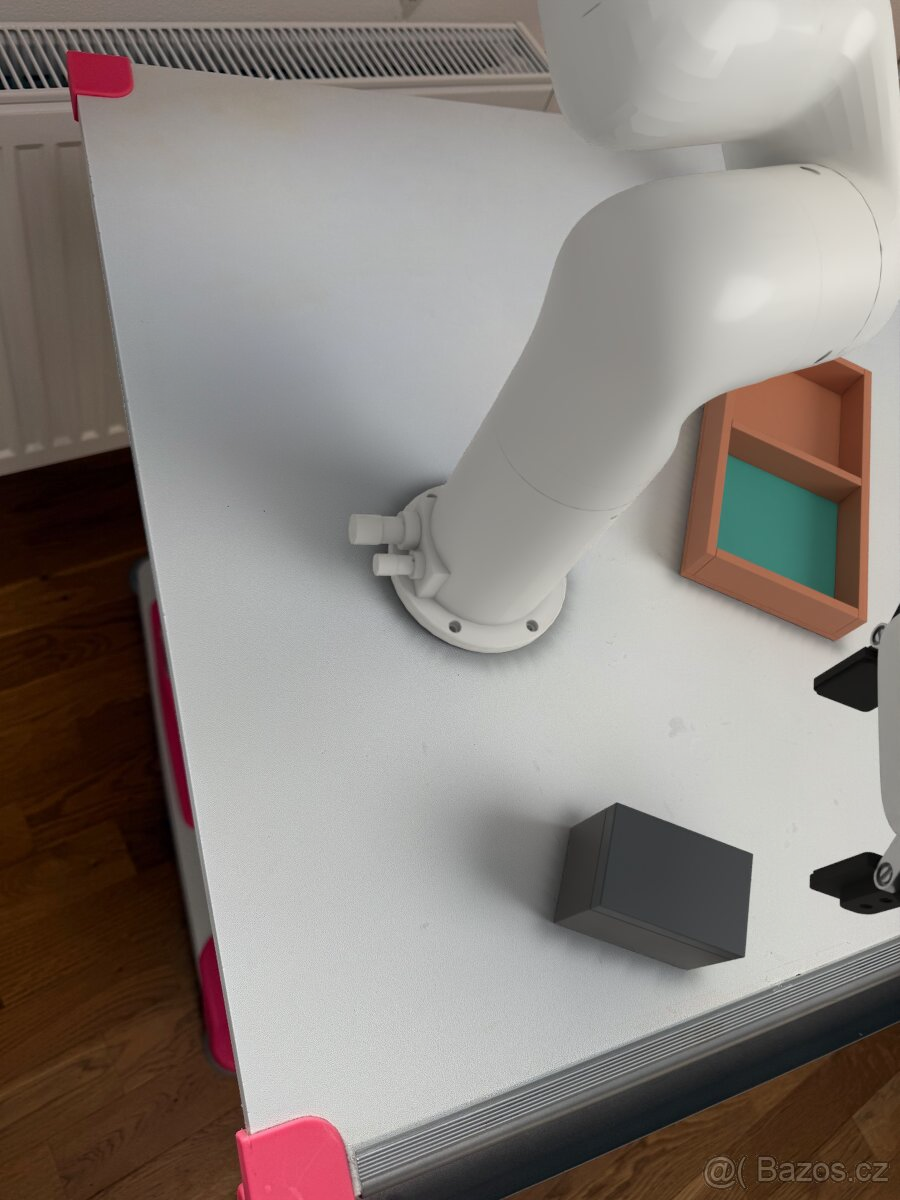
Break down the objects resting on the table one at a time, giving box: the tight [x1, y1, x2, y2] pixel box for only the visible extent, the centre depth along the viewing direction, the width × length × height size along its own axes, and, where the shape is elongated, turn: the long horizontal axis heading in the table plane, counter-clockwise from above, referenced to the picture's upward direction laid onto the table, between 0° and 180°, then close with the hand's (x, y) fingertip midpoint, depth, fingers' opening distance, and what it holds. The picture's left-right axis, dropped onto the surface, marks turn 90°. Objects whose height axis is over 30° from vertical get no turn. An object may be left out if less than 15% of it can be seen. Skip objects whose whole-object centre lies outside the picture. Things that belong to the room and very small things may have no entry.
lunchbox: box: [553, 802, 754, 971], centre depth 57 cm, size 9×6×6 cm, turn 76°
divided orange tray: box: [679, 356, 873, 642], centre depth 78 cm, size 14×26×4 cm, turn 166°
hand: (838, 788), depth 45 cm, fingers open, 9 cm apart
